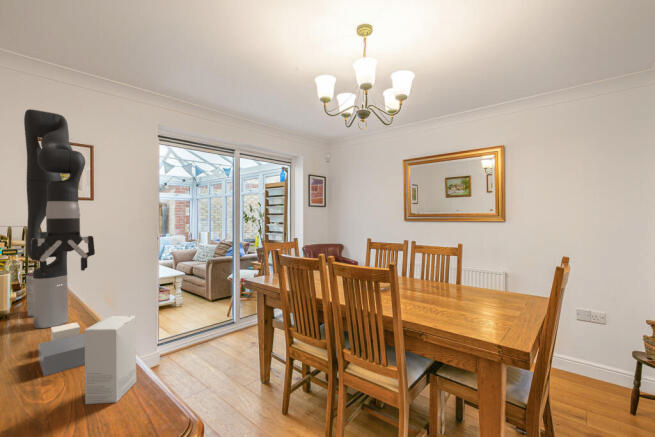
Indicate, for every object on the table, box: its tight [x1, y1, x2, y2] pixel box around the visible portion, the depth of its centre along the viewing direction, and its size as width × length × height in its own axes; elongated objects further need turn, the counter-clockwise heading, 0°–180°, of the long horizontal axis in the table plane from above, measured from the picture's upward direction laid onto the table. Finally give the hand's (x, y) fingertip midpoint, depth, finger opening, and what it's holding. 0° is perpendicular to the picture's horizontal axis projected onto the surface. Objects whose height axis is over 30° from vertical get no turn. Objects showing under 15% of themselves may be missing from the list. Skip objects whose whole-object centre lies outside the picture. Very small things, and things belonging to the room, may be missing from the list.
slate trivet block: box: [38, 332, 85, 377], centre depth 83 cm, size 12×12×5 cm
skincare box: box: [83, 315, 137, 405], centre depth 67 cm, size 8×7×16 cm
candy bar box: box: [25, 273, 34, 318], centre depth 125 cm, size 11×5×16 cm, turn 168°
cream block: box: [50, 321, 81, 341], centre depth 91 cm, size 6×6×6 cm
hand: (64, 272), depth 91 cm, fingers open, 8 cm apart
